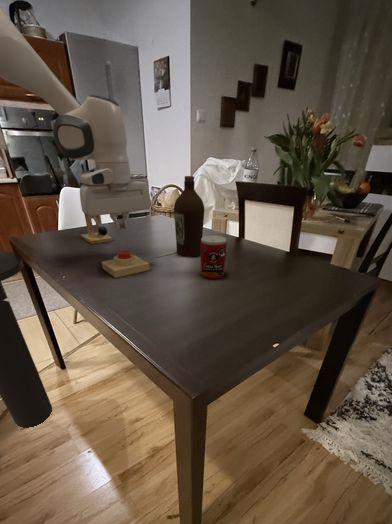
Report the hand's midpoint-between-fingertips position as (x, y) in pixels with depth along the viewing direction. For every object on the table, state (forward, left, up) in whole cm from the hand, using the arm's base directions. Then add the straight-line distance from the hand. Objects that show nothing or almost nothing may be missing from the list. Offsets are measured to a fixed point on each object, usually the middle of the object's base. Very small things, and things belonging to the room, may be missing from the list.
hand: (121, 228), depth 85 cm
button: (0, 0, -9) cm, 9 cm away
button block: (0, 0, -12) cm, 12 cm away
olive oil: (+27, +2, -13) cm, 30 cm away
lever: (+6, +36, -6) cm, 38 cm away
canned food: (+20, -20, -13) cm, 31 cm away
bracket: (+6, +40, -12) cm, 42 cm away
